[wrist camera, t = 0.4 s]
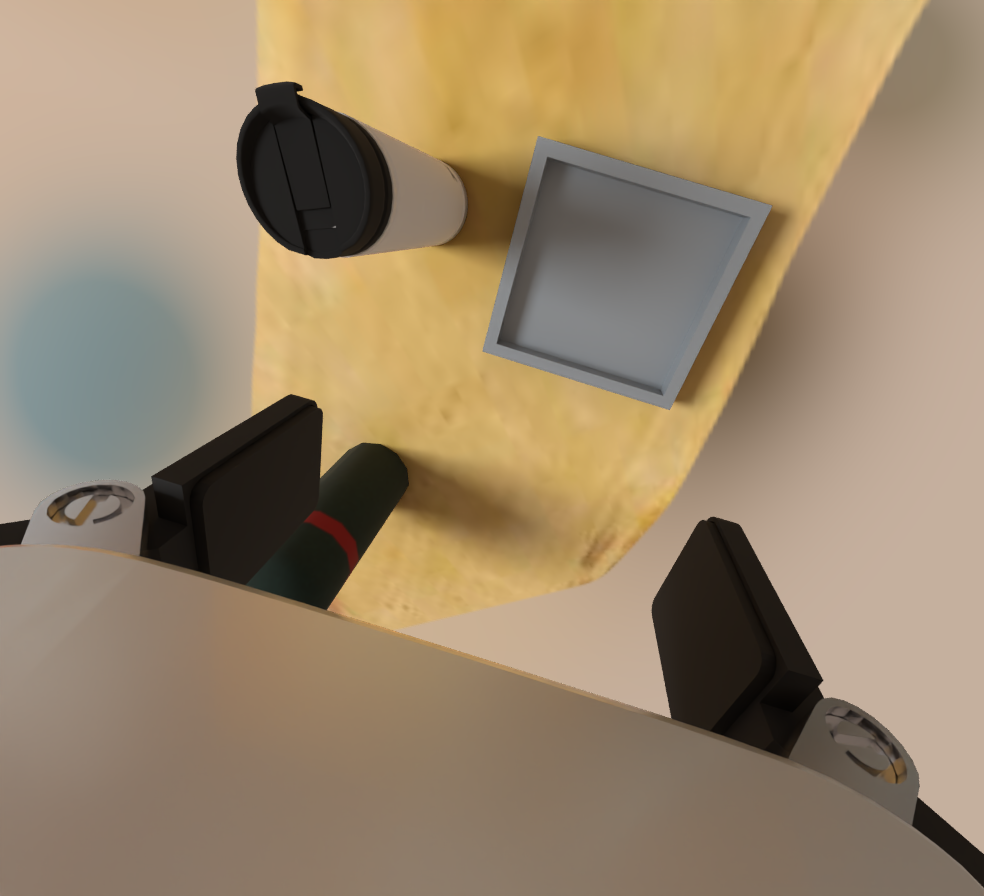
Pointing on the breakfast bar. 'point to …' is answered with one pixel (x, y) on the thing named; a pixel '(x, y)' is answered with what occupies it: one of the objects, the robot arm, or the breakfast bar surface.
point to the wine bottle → (336, 527)
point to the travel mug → (341, 181)
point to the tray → (617, 272)
